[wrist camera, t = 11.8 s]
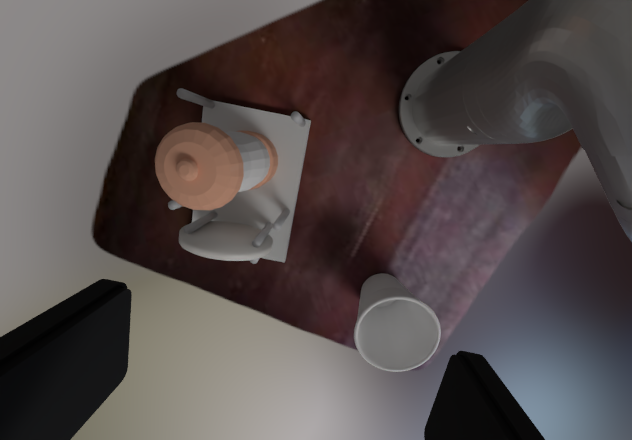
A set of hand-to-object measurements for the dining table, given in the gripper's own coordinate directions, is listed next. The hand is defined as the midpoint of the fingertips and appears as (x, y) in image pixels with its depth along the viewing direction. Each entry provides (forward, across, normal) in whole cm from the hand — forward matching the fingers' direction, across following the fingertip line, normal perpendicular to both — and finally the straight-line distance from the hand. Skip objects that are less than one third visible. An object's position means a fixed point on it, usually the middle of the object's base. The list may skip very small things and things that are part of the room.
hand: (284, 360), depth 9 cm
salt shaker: (+33, +10, -2) cm, 35 cm away
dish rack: (+34, +10, +1) cm, 36 cm away
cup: (+34, -12, +13) cm, 39 cm away
